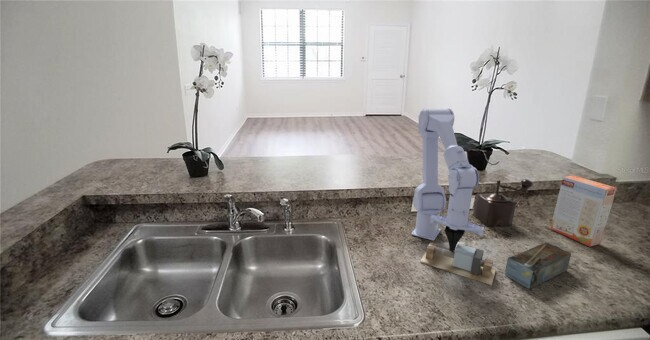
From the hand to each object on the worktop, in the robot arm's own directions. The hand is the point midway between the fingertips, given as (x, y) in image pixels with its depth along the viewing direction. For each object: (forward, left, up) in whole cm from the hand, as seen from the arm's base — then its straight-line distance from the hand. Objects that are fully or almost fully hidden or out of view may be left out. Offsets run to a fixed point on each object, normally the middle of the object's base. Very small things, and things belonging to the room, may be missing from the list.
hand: (452, 249), depth 100 cm
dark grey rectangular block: (0, +7, -5) cm, 9 cm away
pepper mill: (-42, +9, -5) cm, 43 cm away
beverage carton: (-10, +22, -6) cm, 25 cm away
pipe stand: (0, +2, -5) cm, 5 cm away
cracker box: (-43, +33, -5) cm, 54 cm away
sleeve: (0, +4, -4) cm, 5 cm away
